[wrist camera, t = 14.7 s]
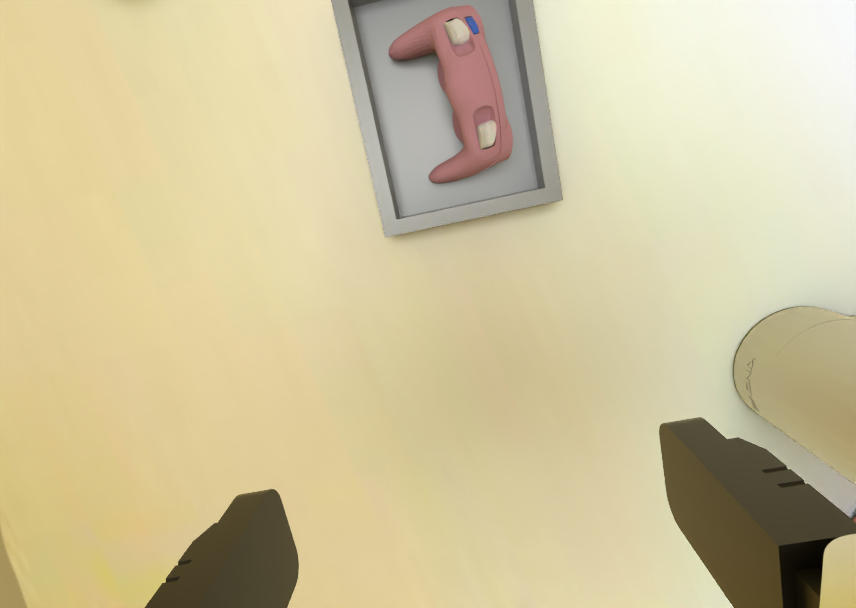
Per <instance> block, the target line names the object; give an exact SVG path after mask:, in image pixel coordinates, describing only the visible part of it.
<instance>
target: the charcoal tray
mask: <svg viewBox="0 0 856 608" xmlns="http://www.w3.org/2000/svg"><path fill="white" fill-rule="evenodd" d="M331 2H332V6H333V11H334V15H335V20H336V24H337V28H338V33H339V37H340V41H341V46H342V50H343V55H344V59H345V63H346V68H347V72H348V76H349V81H350V85H351V90H352V94H353V98H354V103H355V107H356V111H357V116H358V120H359V125H360V129H361V133H362V138H363V142H364V146H365V151H366V155H367V160H368V164H369V168H370V173H371V177H372V181H373V186H374V190H375V195H376V199H377V203H378V208H379V212H380V216H381V221H382V225H383V230H384V234H385V237H390V236H394V235H399V234H404V233H409V232H413V231H418V230H423V229H428V228H432V227H437V226H442V225H447V224H451V223H456V222H461V221H466V220H470V219H475V218H480V217H484V216H489V215H494V214H499V213H503V212H508V211H513V210H518V209H522V208H527V207H532V206H537V205H541V204H546V203H551V202H556V201H560V200H563V197H562V191H561V184H560V178H559V171H558V164H557V158H556V151H555V144H554V138H553V131H552V125H551V118H550V111H549V105H548V98H547V92H546V85H545V78H544V72H543V65H542V59H541V52H540V45H539V39H538V32H537V26H536V19H535V12H534V6H533V0H331ZM464 5H470V6H472V7H473V8H475V9H476V11H477V12H478V14H479V16H480V17H481V20H482V23H483V26H484V32H485V41H486V43H487V45H488V48H489V50H490V53H491V56H492V59H493V62H494V65H495V68H496V71H497V74H498V78H499V82H500V86H501V90H502V95H503V100H504V107H505V113H506V117H507V118H508V121H509V123H510V126H511V129H512V134H513V147H512V152H511V155H510V157H509V158H508V159H507V160H505V161H502V162H500V163H497V164H494V165H493V166H491V167H489V168H487V169H485V170H483V171H481V172H479V173H477V174H475V175H473V176H471V177H468V178H464V179H461V180H458V181H454V182H448V183H439V184H437V183H433V182H431V181H430V180H429V174H430V173H431V171H432V170H433V169H434V168H435V167H436V166H437V165H439V164H441V163H443V162H445V161H446V160H448V159H450V158H452V157H453V156H455V155H456V154H457V153H459V152H460V151H461V150H462V149H463V146H464V144H463V142H462V141H460V140H459V139H458V137H457V136H456V134H455V131H454V128H453V123H452V115H453V111H454V110H453V108H452V106H451V104H450V102H449V99H448V97H447V94H446V93H445V92H444V91H443V89H442V88H441V86H440V83H439V80H438V73H437V70H438V64H439V61H440V60H439V58H438V56H437V53H436V51H434V52H432V53H429V54H426V55H423V56H419V57H416V58H412V59H404V60H394V59H392V58H390V57H389V52H388V50H389V48H390V46H391V44H392V43H393V41H394V40H395V39H397V38H398V37H399V36H400V35H402V34H403V33H405V32H406V31H408V30H409V29H411V28H412V27H414V26H415V25H417V24H418V23H420V22H422V21H423V20H425V19H426V18H428V17H430V16H432V15H433V14H435V13H437V12H439V11H441V10H444V9H446V8H449V7H456V6H464Z"/></svg>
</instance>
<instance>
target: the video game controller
mask: <svg viewBox="0 0 856 608" xmlns="http://www.w3.org/2000/svg"><path fill="white" fill-rule="evenodd" d="M434 51H436V53H437V56H438V58H439V60H440V61H439V64H438V70H437V73H438V80H439V83H440V86H441V88H442V89H443V91H444V92H445V93H446V94H447V97H448V99H449V102H450V104H451V106H452V108H453V110H454V111H453V115H452V123H453V128H454V131H455V134H456V136H457V137H458V139H459V140H460V141H462V142H463V144H464V146H463V149H462V150H461V151H460V152H459V153H457V154H456V155H455V156H453V157H452V158H450V159H448V160H446V161H445V162H443V163H441V164H439V165H437V166H436V167H435V168H434V169H433V170H432V171H431V173H430V174H429V180H430V181H431V182H433V183H437V184H439V183H448V182H454V181H458V180H461V179H464V178H468V177H471V176H473V175H475V174H477V173H479V172H481V171H483V170H485V169H487V168H489V167H491V166H493V165H494V164H497V163H500V162H502V161H505V160H507V159H508V158H509V157H510V155H511V152H512V147H513V134H512V129H511V126H510V123H509V121H508V118H507V117H506V113H505V107H504V100H503V95H502V90H501V86H500V82H499V78H498V74H497V71H496V68H495V65H494V62H493V59H492V56H491V53H490V50H489V48H488V45H487V43H486V41H485V32H484V26H483V23H482V20H481V17H480V16H479V14H478V12H477V11H476V9H475V8H473V7H472V6H470V5H464V6H456V7H449V8H446V9H444V10H441V11H439V12H437V13H435V14H433V15H432V16H430V17H428V18H426V19H425V20H423V21H422V22H420V23H418V24H417V25H415V26H414V27H412V28H411V29H409V30H408V31H406V32H405V33H403V34H402V35H400V36H399V37H398V38H397V39H395V40H394V41H393V43H392V44H391V46H390V48H389V50H388V52H389V57H390V58H392V59H394V60H404V59H412V58H416V57H419V56H423V55H426V54H429V53H432V52H434Z"/></svg>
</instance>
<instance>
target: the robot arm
mask: <svg viewBox="0 0 856 608" xmlns="http://www.w3.org/2000/svg"><path fill="white" fill-rule="evenodd" d="M734 380H735V385H736V389H737V391H738V393H739V395H740V397H741V398H742V400H743V401H744V402H745V403H746V404H747V406H748V407H749V408H751V409H752V410H753V411H755V412H756V413H757V414H759V415H760V416H762V417H763V418H764V419H766V420H767V421H768V422H770V423H771V424H772V425H774V426H775V427H777V428H778V429H779V430H781V431H782V432H783V433H784V434H786V435H787V436H788V437H790V438H791V439H793V440H794V441H795V442H797V443H798V444H800V445H801V446H802V447H804V448H805V449H806V450H808V451H809V452H811V453H812V454H813V455H815V456H816V457H817V458H819V459H820V460H822V461H823V462H824V463H826V464H827V465H829V466H830V467H831V468H833V469H834V470H835V471H837V472H838V473H840V474H841V475H842V476H844V477H845V478H846V479H848V480H849V481H851V482H852V483H853V484H855V485H856V316H850V317H848V316H845V315H842V314H838V313H835V312H832V311H829V310H825V309H821V308H817V307H802V306H800V307H794V308H789V309H785V310H782V311H780V312H777V313H774V314H772V315H771V316H769V317H767V318H766V319H764V320H762V321H761V322H760V323H759V324H758V325H756V326H755V327H754V328H753V329H752V330H751V331H750V332H749V334H748V335H747V336H746V337H745V339H744V340H743V342H742V344H741V346H740V348H739V350H738V352H737V355H736V359H735V363H734ZM659 435H660V444H661V452H662V460H663V468H664V476H665V484H666V492H667V498H668V502H669V505H670V508H671V511H672V514H673V516H674V519H675V521H676V523H677V525H678V526H679V528H680V530H681V531H682V532H683V534H684V535H685V537H686V538H687V540H688V541H689V543H690V544H691V546H692V547H693V549H694V550H695V551H696V553H697V554H698V556H699V557H700V559H701V560H702V562H703V563H704V565H705V566H706V568H707V569H708V571H709V572H710V573H711V575H712V576H713V578H714V579H715V581H716V582H717V584H718V585H719V587H720V588H721V590H722V591H723V592H724V594H725V595H726V597H727V598H728V600H729V601H730V603H731V604H732V606H733V607H734V608H856V522H854V521H853V520H852V519H851V518H850V517H848V516H847V515H846V514H845V513H843V512H842V511H841V510H840V509H839V508H837V507H836V506H835V505H834V504H832V503H831V502H830V501H829V500H827V499H826V498H825V497H824V496H823V495H821V494H820V493H819V492H818V491H816V490H815V489H814V488H813V487H812V486H810V485H809V484H805V483H804V480H803V479H802V478H801V477H799V476H798V475H797V474H796V473H794V472H793V471H792V470H791V469H790V470H788V469H787V466H786V465H785V464H783V463H782V462H781V461H780V460H778V459H777V458H776V457H775V456H774V455H772V454H771V453H770V452H769V451H767V450H766V449H764V448H761V447H759V446H757V445H754V444H752V443H750V442H747V441H745V440H743V439H740V438H733V439H726V438H725V437H724V436H723V435H721V434H720V433H719V432H718V431H717V430H716V429H715V428H714V427H713V426H711V425H710V424H709V423H708V422H707V421H706V420H705V419H703V418H701V417H699V418H693V419H687V420H681V421H675V422H669V423H663V424H661V426H660V430H659ZM298 569H299V564H298V554H297V550H296V546H295V543H294V540H293V537H292V533H291V530H290V527H289V523H288V520H287V517H286V514H285V510H284V507H283V504H282V501H281V498H280V496H279V494H278V492H277V491H276V490H274V489H270V490H264V491H258V492H252V493H247V494H241V495H238V496H237V497H236V498H235V499H234V500H233V502H232V503H231V504H230V506H229V507H228V509H227V510H226V512H225V513H224V515H223V516H222V517H221V519H220V520H219V522H218V523H214V524H213V525H212V526H211V527H210V528H208V529H207V530H206V531H205V532H204V533H203V534H201V535H200V536H199V537H198V538H197V539H196V540H194V541H193V542H192V544H191V545H190V546H189V548H188V549H187V550H186V552H185V553H184V555H183V556H182V557H181V559H180V560H179V561H178V566H175V567H174V568H173V570H172V571H171V572H170V574H169V575H168V576H167V578H166V583H162V585H161V586H160V587H159V589H158V590H157V592H156V593H155V594H154V596H153V597H152V598H151V600H150V601H149V602H148V604H147V605H146V607H145V608H287V606H288V604H289V601H290V599H291V596H292V594H293V591H294V588H295V586H296V583H297V578H298Z"/></svg>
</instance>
